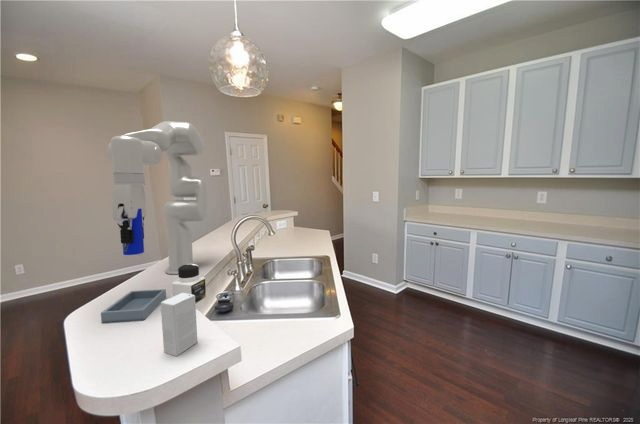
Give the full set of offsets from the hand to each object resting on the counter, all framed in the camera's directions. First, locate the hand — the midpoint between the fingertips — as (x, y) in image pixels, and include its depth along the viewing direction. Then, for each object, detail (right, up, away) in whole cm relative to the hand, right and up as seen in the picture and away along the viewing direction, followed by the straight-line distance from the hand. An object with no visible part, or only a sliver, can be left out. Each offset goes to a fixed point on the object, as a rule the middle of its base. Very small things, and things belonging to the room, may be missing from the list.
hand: (133, 240), depth 80 cm
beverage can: (0, -5, 0) cm, 5 cm away
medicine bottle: (+13, -21, +8) cm, 26 cm away
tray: (0, -21, +2) cm, 21 cm away
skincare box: (+23, -23, -17) cm, 37 cm away
